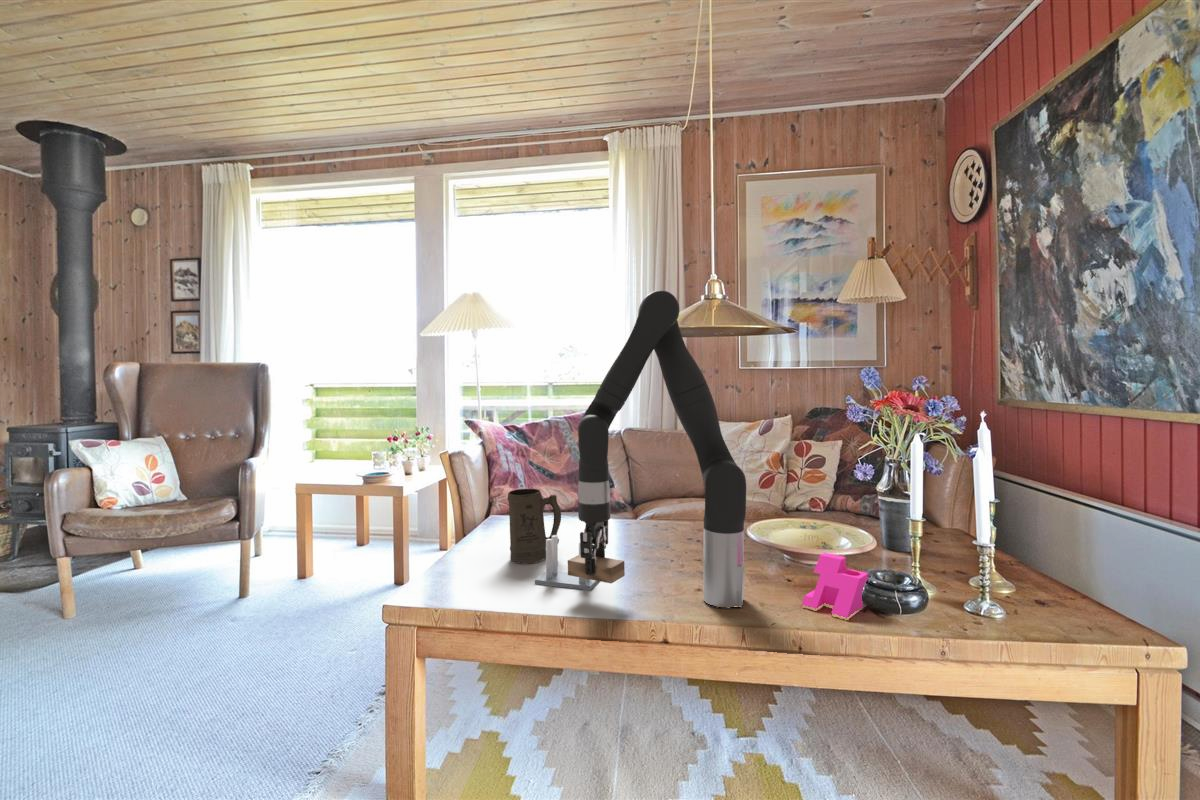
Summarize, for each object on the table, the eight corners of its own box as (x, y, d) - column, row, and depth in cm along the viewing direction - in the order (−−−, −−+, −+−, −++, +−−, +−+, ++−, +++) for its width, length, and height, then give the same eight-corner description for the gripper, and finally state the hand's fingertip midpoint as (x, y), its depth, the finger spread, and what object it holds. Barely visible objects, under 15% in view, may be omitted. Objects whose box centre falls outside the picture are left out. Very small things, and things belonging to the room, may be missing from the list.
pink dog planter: (824, 594, 139) (824, 552, 139) (867, 606, 132) (868, 562, 132) (801, 608, 131) (801, 563, 131) (846, 621, 124) (847, 574, 123)
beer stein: (509, 566, 160) (509, 495, 159) (505, 555, 170) (505, 488, 170) (563, 562, 164) (563, 492, 164) (556, 551, 174) (556, 486, 174)
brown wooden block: (624, 575, 134) (624, 560, 134) (611, 583, 129) (611, 568, 129) (582, 567, 140) (581, 553, 140) (567, 575, 135) (567, 560, 135)
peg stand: (600, 579, 149) (600, 537, 149) (590, 590, 142) (590, 546, 141) (547, 573, 154) (547, 533, 154) (534, 583, 146) (534, 540, 146)
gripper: (599, 506, 126) (601, 581, 127) (618, 494, 140) (619, 561, 140) (568, 505, 129) (569, 578, 129) (589, 493, 142) (590, 559, 143)
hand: (595, 569), depth 135 cm, fingers closed on brown wooden block, 7 cm apart
